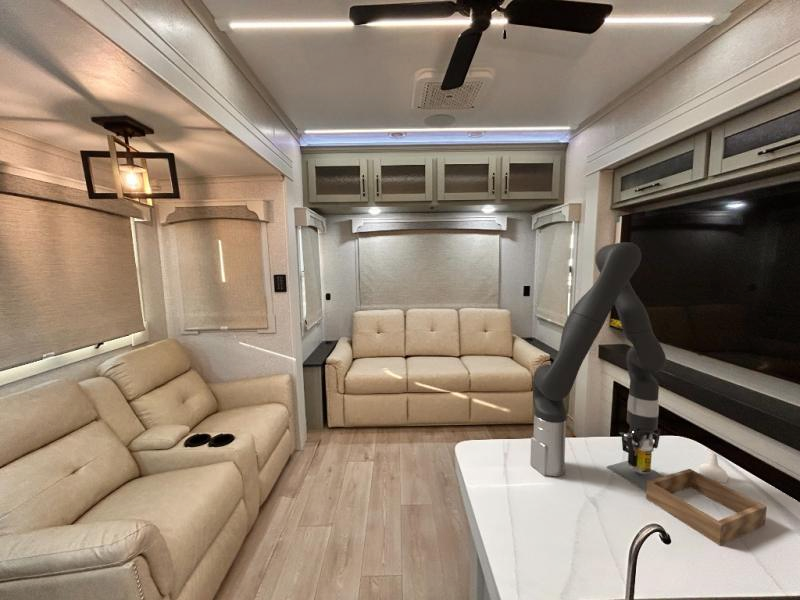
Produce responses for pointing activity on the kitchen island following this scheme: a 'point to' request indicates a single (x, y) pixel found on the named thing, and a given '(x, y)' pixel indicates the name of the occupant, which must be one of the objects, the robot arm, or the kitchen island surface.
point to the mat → (634, 474)
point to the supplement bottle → (643, 458)
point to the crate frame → (718, 531)
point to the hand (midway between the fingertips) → (639, 462)
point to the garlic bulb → (713, 470)
